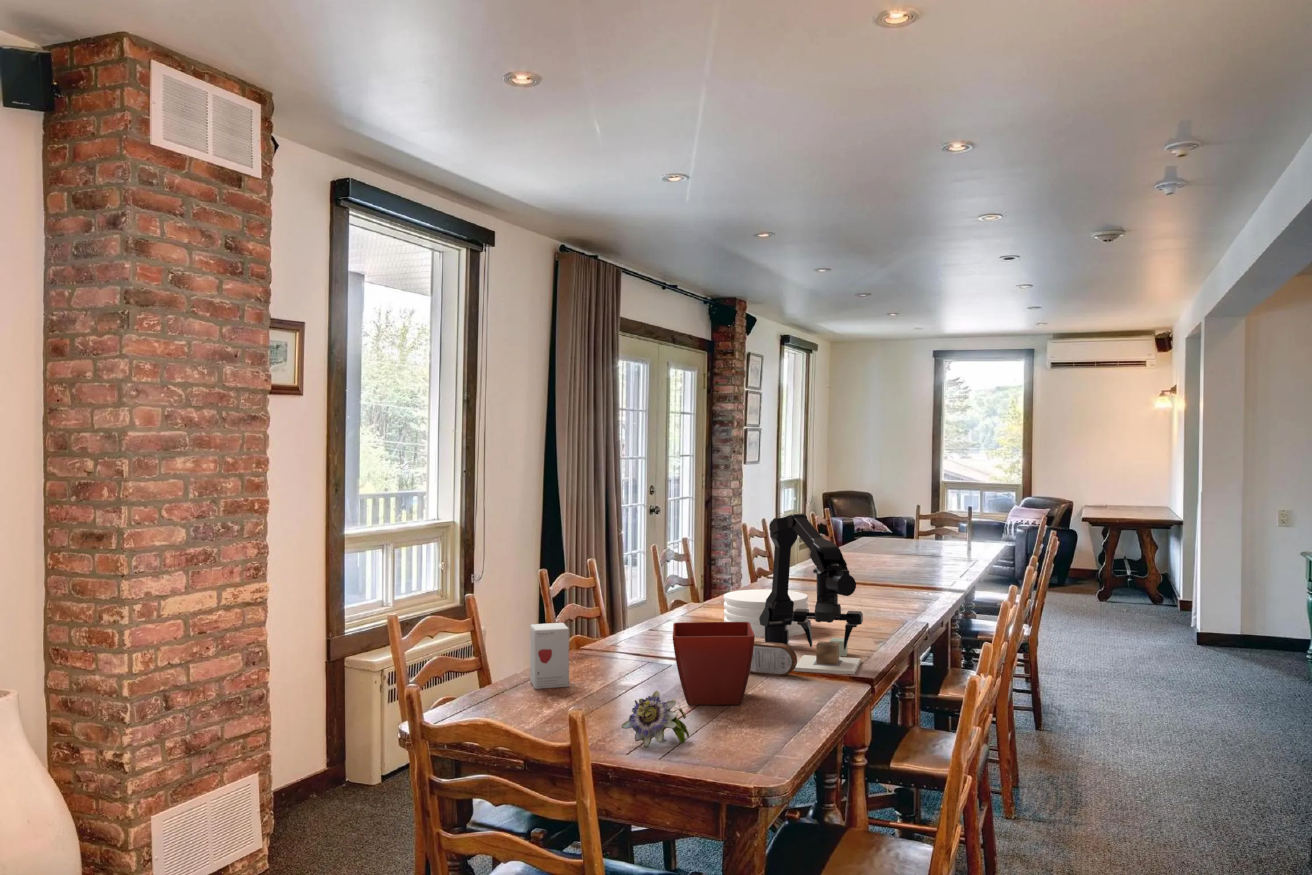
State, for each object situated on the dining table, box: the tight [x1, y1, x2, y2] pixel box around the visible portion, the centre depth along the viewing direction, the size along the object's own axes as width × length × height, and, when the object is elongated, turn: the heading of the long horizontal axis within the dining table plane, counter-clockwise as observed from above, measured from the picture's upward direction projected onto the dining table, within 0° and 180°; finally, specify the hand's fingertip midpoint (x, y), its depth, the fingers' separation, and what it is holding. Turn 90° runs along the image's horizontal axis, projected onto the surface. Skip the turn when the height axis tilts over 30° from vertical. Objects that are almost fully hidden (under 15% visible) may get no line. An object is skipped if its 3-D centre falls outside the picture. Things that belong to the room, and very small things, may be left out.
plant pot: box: [672, 621, 756, 706], centre depth 222 cm, size 19×19×17 cm
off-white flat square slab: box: [793, 654, 861, 676], centre depth 254 cm, size 16×16×1 cm
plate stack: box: [723, 588, 809, 638], centre depth 310 cm, size 28×28×12 cm
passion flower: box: [621, 690, 690, 748], centre depth 190 cm, size 11×11×12 cm
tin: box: [750, 640, 798, 677], centre depth 246 cm, size 15×3×8 cm, turn 65°
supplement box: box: [529, 622, 570, 690], centre depth 238 cm, size 9×9×15 cm
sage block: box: [829, 637, 848, 658], centre depth 269 cm, size 4×4×4 cm
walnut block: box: [815, 640, 840, 665], centre depth 254 cm, size 6×6×5 cm
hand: (827, 647), depth 254 cm, fingers open, 9 cm apart
